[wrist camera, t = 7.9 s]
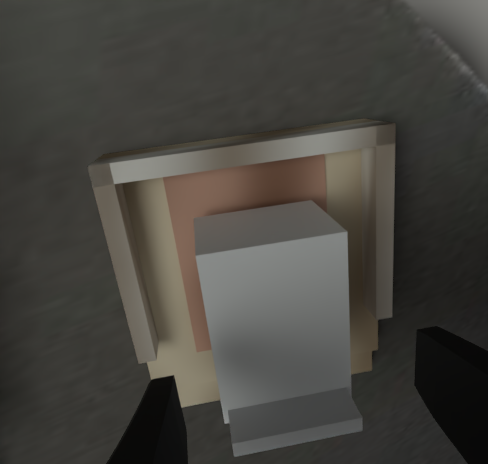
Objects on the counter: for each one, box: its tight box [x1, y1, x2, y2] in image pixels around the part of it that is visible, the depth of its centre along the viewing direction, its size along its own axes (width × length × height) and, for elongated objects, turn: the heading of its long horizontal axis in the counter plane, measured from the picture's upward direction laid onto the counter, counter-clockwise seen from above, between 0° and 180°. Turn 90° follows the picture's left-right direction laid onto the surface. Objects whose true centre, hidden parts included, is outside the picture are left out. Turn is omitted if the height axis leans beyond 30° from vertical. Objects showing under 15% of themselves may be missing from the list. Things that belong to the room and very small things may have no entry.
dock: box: [87, 118, 396, 407], centre depth 19 cm, size 12×14×3 cm
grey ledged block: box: [194, 200, 362, 457], centre depth 15 cm, size 5×7×6 cm
